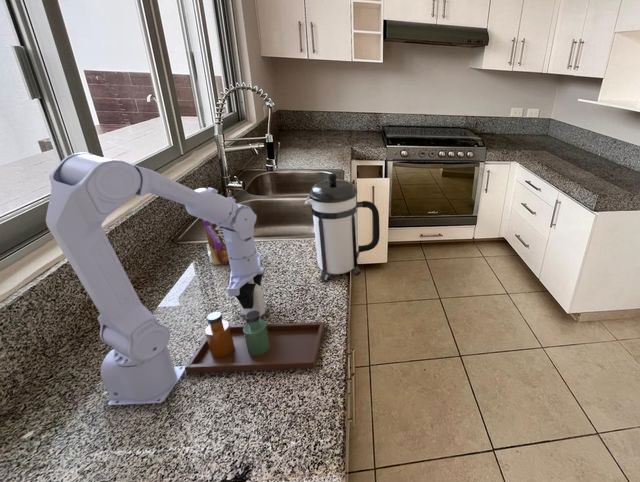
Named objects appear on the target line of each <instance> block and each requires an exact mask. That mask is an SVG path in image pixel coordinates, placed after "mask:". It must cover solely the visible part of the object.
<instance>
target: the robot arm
mask: <svg viewBox="0 0 640 482" xmlns="http://www.w3.org/2000/svg"><path fill="white" fill-rule="evenodd" d="M48 177H49V181H50V186H51V189H50V194H49V200H48V205H47V209H46V210H47V211H46V215H45V223H46V226H47V229H48V230H49V232H50V233H51V235H52V236H53V238H54V240H55V241H56V243H57V245H58V247H59V248H60V250H61V251H62V253H63V255H64V257H65V258H66V260H67V262H68V263H69V265H70V267H71V268H72V269H73V271H74V273H75V275H76V276H77V278H78V280H79V281H80V284H81V285H82V286H83V288H84V289H85V291H86V293H87V294H88V296H89V298H90V299H91V301H92V302H93V304H94V306H95V307H96V309H97V311H98V313H99V315H98V316H97V318H96V319H97V322H98V323H99V326H100V329H99V338H100V340H101V342H102V343H103V344H105V345H107V346H110V347H112V348H113V349H111V350H110V351H109V352H108V353H107V354H106V355H105V357H104V359H103V360H102V363H101V366H100V377H101V381H102V382H103V385H104V387H105V390H106V391H107V395H108V396H109V398H110V400H109V401H108V403H107V405H108V406H119V405H120V406H121V405H139V404H141V405H142V404H161V403H163V402H165V400H166V399H167V397H168V396H169V394H170V393H171V392H172V390H173V388H174V387H175V385H177V382H178V381H179V380H180V378H181V377H182V375H183V374H184V373H185V372H186V370H185V366H186V365H183V366H175V365H174V363H173V359H172V357H171V354H170V351H169V347H168V345H169V341H170V339H171V331H170V328H169V327H168V326H166V325H164V324H162V323H160V322H158V320H157V318H156V316H155V315H154V314H153V313H152V312H151V311H150V310H149V309H148V308H147V307H146V306H145V305H144V304H143V303H142V302H141V299H140V297H139V296H138V294H137V292H136V290H135V288H134V286H133V284H132V283H131V280H130V279H129V276H128V274H127V273H126V271H125V269H124V267H123V265H122V263H121V261H120V259H119V258H118V255H117V253H116V251H115V250H114V248H113V246H112V244H111V242H110V240H109V238H108V236H107V234H106V233H105V230H104V228H103V227H102V225H103V224H104V222H105V221H106V220H107V218H108V217H109V216H110V215H111V214H113V213H114V212H115V211H116V210H118V209H119V208H120V207H121V206H123V205H124V204H126V203H127V202H128V201H130V199H132V198H133V197H134V196H138V197H143V196H145V195H148V194H152V195H155V196H158V197H161V198H164V199H166V200H169V201H172V202H175V203H178V204H180V205H184V207H185V210H186V212H187V213H188V215H190V216H192V217H195V218H199V219H200V220H202V221H203V220H206V221H209V222H212V223H214V224H216V225H217V226H221V227H224V228H222V230H223V234H224V239H225V244H226V248H227V253H228V258H229V263H230V264H229V266H230V267H229V268H230V275H229V283H228V285H227V288H226V290H227V295H228V296H229V297H235V299H237V301H238V303H239V302H240V304H241V305H242V307H243V309H252V308H253V305H254V297H253V295H254V288H255V285H256V284H258V285H259V286H260V287H261V288H262V279H263V276H264V273H265V271H266V269H265V267H264V266H261V262H262V261H263V258H262V254H261V253H257V248H256V243H255V237H254V233H255V225H256V222H257V213H255V212H254V211H253V209H252V207H250V206H248V205H245V204H240V203H237V202H236V201H237V199H235V198H234V197H230V196H229V197H225V196H224V195H222V194H219V193H218V192H219V190H218V189H216V188H213V187H207V188H206V187H200V188H199V187H198V188H196V189H192V188H190V187H188V186H186V185H184V184H182V183H180V182H177V181H176V180H173V179H171V178H170V177H167V176H165V175H163V174H162V173H159V172H157V171H155V170H152V169H149V168H146V167H143V166H139V165H135V164H132V163H130V162H128V161H124V160H122V159H111V158H106V157H103V156H99V155H97V154H94V153H91V152H75V153H72V154H70V155H68V156H66V157H64V158H63V159H61V161H60V162H59V163H58V165H56V167H55V168H54V169H53V170H52V171H51V172H50V174H49V175H48ZM252 278H253V280H254V283H256V284H249V283H248V281H249V280H251V279H252ZM240 304H239V305H240Z"/></svg>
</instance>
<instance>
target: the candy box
mask: <svg viewBox="0 0 640 482" xmlns="http://www.w3.org/2000/svg"><path fill="white" fill-rule="evenodd" d="M202 222H203V226H204V231H205V235H206V238H207V242H208V247H209V252H210V255H211V260H212V264H213V266H217V265H230V263H229V258H228V253H227V248H226V244H225V239H224V234H223V230H222V228H224V227H221V226H217V225H216V224H214V223H212V222H209V221H206V220H203V219H202Z"/></svg>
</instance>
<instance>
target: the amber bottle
mask: <svg viewBox="0 0 640 482" xmlns="http://www.w3.org/2000/svg"><path fill="white" fill-rule="evenodd" d="M206 321H207V323H208V325H207V326H206V327H205V329H204V335H205V337H206V338H207V342H208V346H209V349H210V353H211V356H213V357H215V358H220V357H224V356H226V355H228V354H229V353H231V352H232V350H233V349H234V342H233V338H232V334H231V329H230V325H231V324H230V323H229V321H228V320H225V319H223V314H222V312H221V311H213V312H210V313H209V314H208V315H207V316H206Z"/></svg>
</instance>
